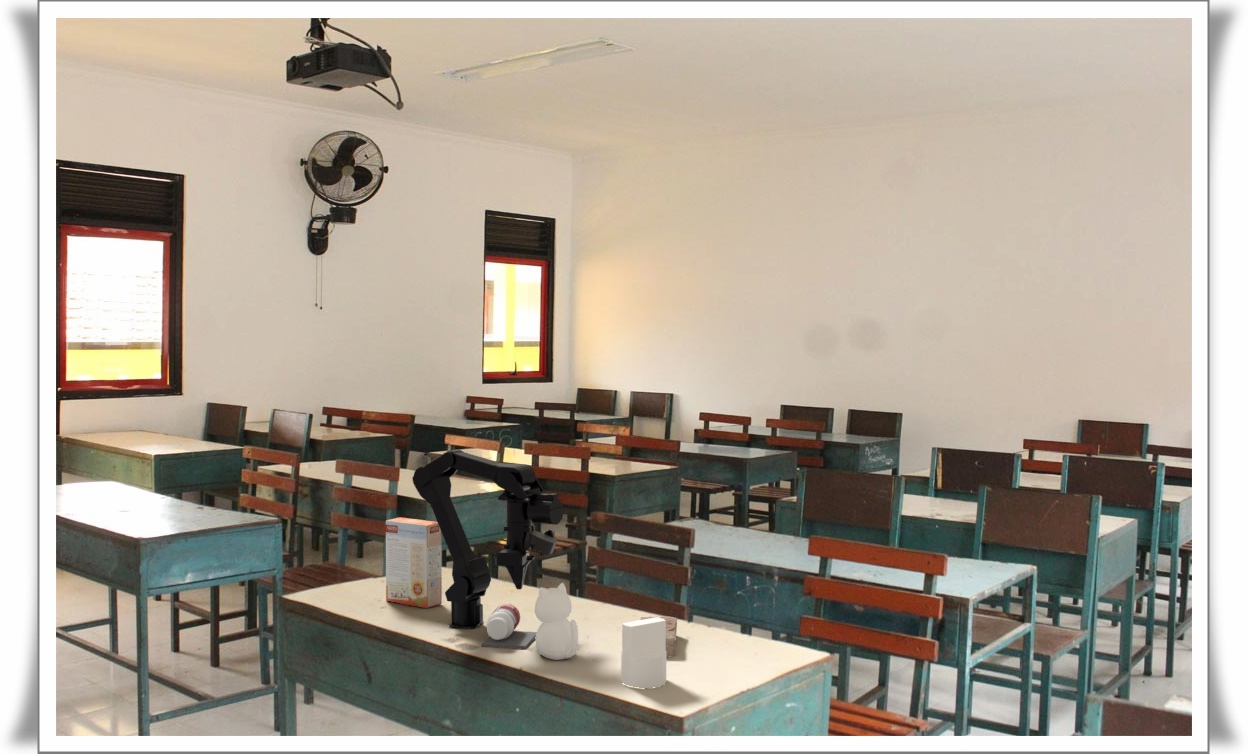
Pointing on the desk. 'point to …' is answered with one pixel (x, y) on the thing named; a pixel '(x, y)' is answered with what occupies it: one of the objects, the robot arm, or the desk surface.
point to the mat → (511, 640)
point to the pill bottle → (503, 621)
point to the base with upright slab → (644, 653)
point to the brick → (669, 634)
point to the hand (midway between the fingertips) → (519, 589)
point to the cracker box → (413, 562)
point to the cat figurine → (555, 624)
